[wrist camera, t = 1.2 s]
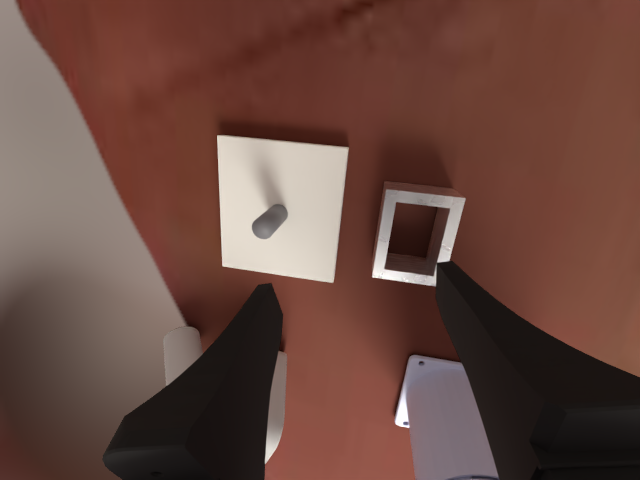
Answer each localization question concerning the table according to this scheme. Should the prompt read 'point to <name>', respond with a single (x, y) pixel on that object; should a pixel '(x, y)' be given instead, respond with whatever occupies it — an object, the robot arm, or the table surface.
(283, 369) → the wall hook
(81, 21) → the table surface
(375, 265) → the hollow square tube
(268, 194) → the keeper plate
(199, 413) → the robot arm
